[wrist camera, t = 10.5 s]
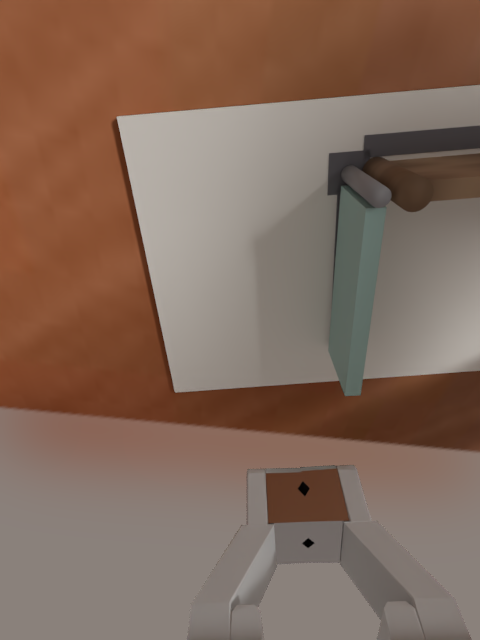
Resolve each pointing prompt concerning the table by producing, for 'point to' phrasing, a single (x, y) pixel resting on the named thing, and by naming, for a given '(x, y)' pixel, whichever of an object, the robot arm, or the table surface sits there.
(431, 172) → the fence
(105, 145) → the table surface
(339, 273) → the gate panel
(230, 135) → the card
